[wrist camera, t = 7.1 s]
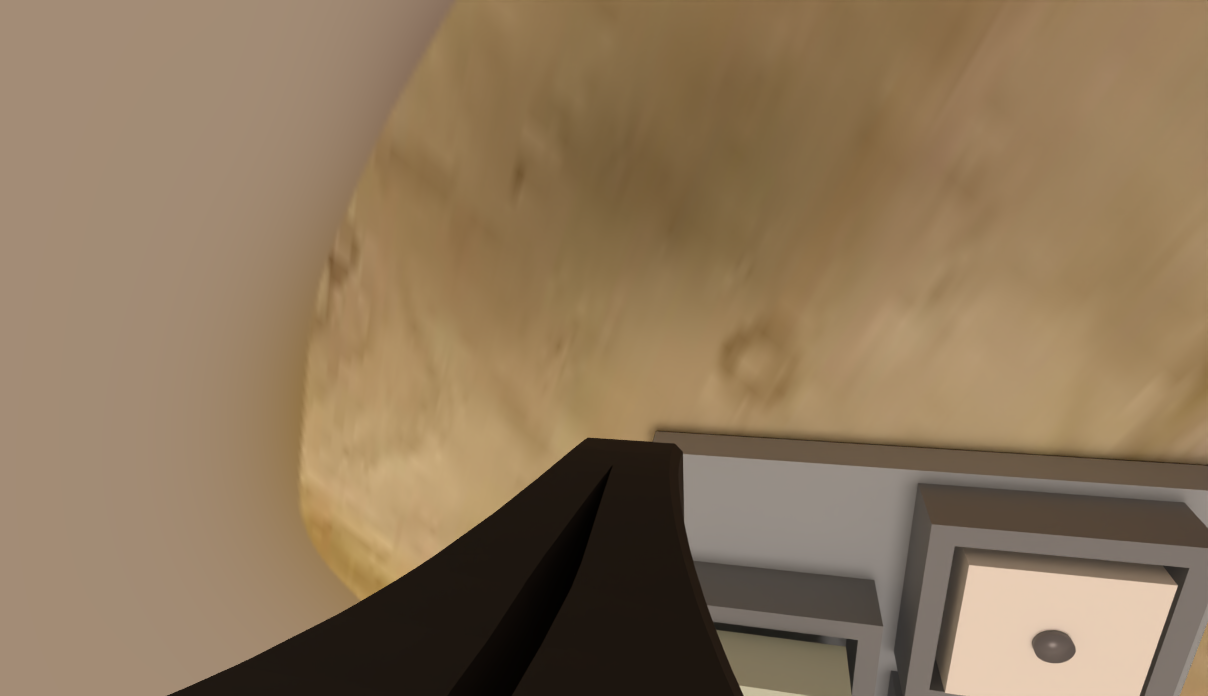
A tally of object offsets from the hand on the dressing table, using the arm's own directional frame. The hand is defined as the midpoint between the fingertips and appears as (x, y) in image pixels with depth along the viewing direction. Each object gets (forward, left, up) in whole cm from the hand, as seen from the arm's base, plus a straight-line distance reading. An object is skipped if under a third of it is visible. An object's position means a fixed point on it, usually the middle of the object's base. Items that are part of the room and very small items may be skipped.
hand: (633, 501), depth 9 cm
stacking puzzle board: (-6, +12, -10) cm, 17 cm away
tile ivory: (-9, +9, -9) cm, 15 cm away
